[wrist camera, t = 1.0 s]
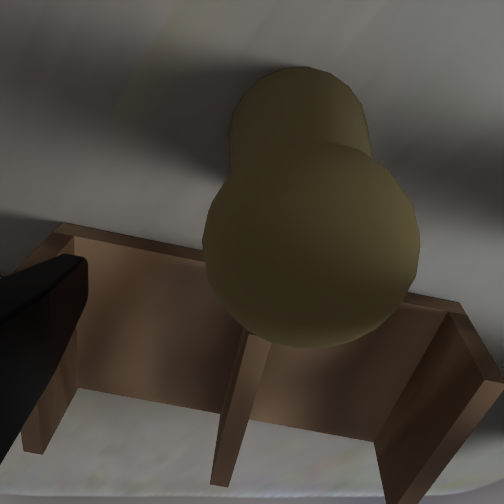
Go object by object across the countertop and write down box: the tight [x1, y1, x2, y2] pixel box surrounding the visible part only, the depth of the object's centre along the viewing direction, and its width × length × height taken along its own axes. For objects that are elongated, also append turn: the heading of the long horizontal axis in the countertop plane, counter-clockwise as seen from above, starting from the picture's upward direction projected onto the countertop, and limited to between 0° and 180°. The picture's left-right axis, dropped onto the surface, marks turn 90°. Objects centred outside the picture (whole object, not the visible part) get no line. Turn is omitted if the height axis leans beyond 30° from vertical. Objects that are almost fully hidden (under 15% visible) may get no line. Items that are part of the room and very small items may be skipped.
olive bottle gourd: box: [202, 67, 420, 349], centre depth 14 cm, size 6×6×11 cm
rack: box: [12, 223, 504, 504], centre depth 22 cm, size 21×11×6 cm, turn 79°
